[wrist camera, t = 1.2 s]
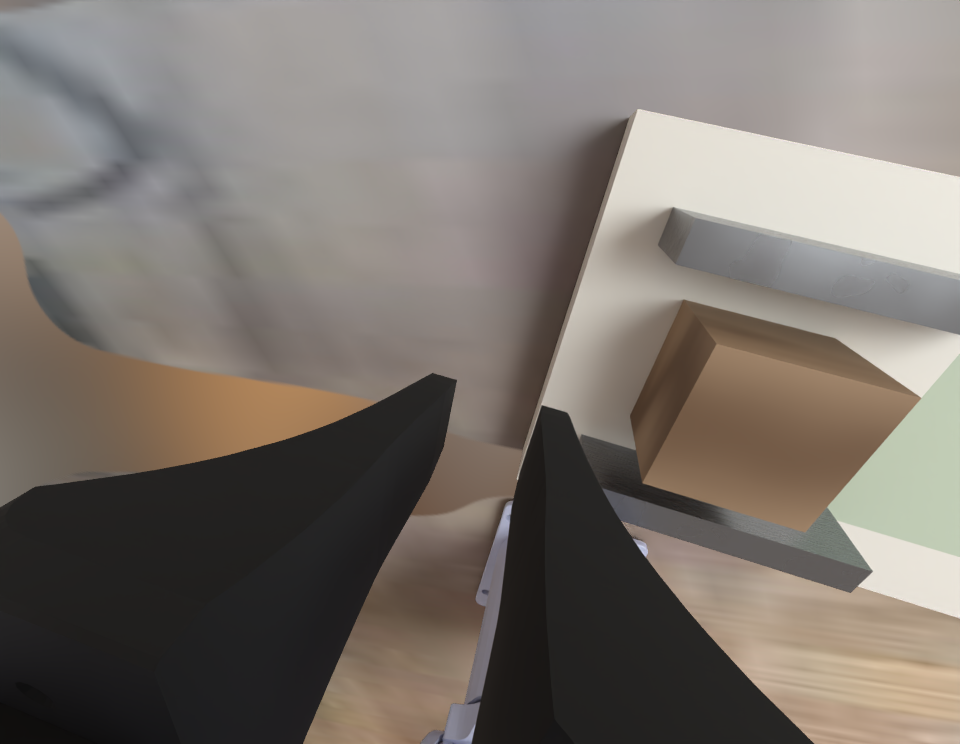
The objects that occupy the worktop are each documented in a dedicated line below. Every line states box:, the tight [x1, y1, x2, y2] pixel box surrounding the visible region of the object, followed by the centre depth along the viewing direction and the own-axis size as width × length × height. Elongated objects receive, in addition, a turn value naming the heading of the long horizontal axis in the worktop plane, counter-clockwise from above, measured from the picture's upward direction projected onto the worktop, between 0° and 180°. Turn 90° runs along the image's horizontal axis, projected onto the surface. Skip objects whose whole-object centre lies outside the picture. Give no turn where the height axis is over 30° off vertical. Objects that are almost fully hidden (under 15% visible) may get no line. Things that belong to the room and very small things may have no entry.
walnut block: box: [630, 300, 921, 532], centre depth 13 cm, size 5×5×4 cm
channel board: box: [517, 109, 960, 618], centre depth 15 cm, size 15×26×2 cm, turn 78°
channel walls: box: [579, 207, 960, 593], centre depth 14 cm, size 10×10×3 cm
